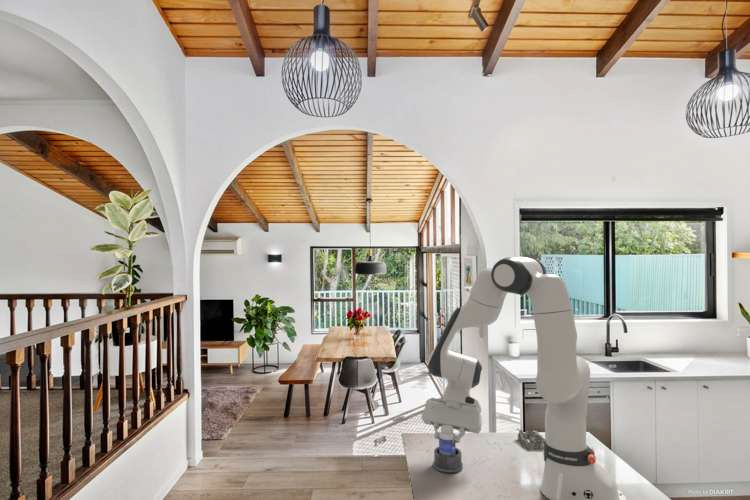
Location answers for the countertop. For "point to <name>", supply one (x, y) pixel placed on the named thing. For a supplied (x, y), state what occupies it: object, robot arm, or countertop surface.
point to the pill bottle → (447, 441)
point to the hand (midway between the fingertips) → (446, 440)
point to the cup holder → (447, 462)
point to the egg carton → (531, 439)
